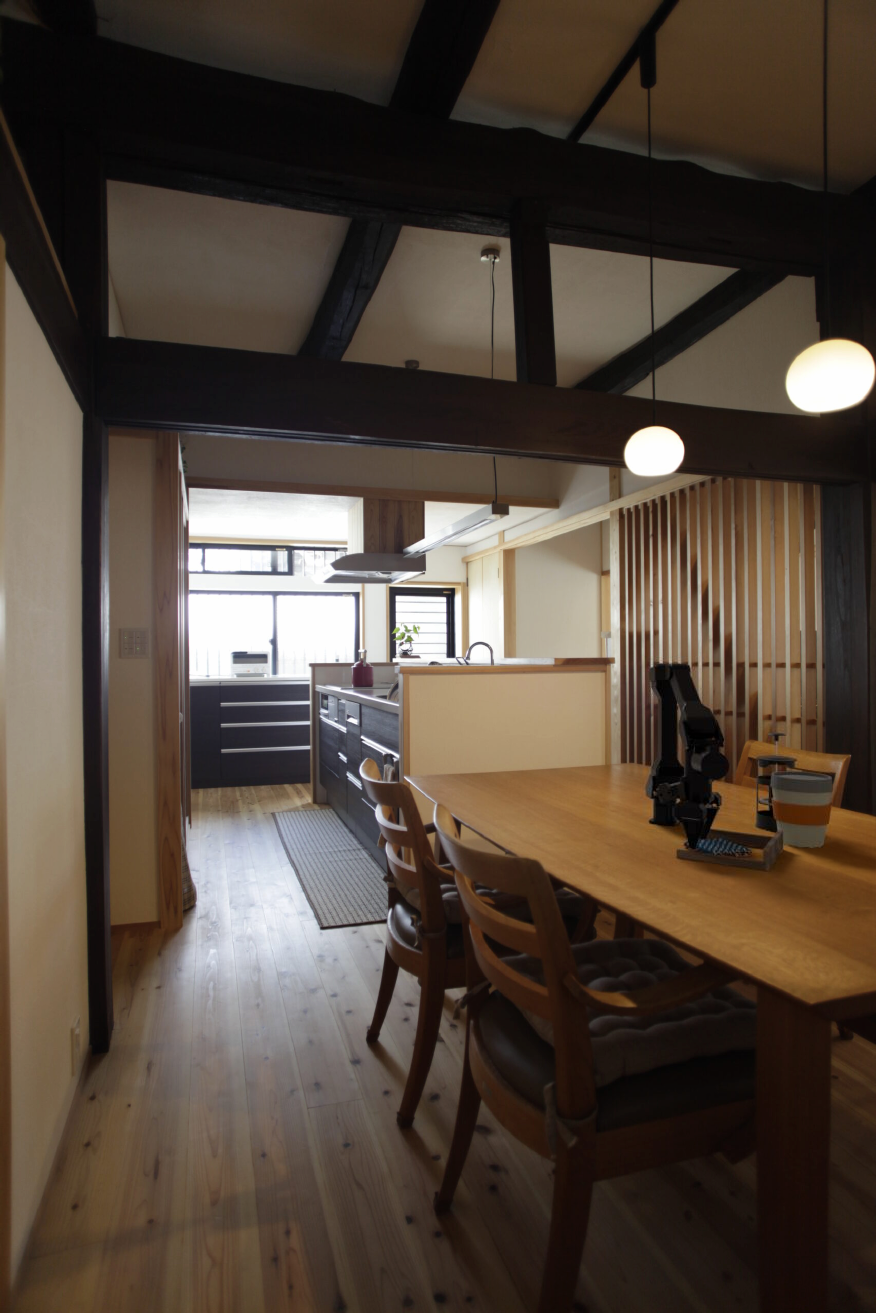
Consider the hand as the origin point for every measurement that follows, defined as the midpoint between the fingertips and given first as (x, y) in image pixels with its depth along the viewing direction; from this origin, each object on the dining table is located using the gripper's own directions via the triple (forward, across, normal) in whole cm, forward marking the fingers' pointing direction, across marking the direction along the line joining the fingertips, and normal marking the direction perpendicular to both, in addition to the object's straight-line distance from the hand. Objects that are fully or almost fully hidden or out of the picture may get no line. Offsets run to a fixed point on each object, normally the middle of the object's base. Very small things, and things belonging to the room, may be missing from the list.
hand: (697, 843), depth 157 cm
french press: (+1, -31, +11) cm, 33 cm away
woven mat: (+2, 0, +4) cm, 4 cm away
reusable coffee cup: (+1, -18, +18) cm, 25 cm away
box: (+1, 0, +6) cm, 6 cm away
